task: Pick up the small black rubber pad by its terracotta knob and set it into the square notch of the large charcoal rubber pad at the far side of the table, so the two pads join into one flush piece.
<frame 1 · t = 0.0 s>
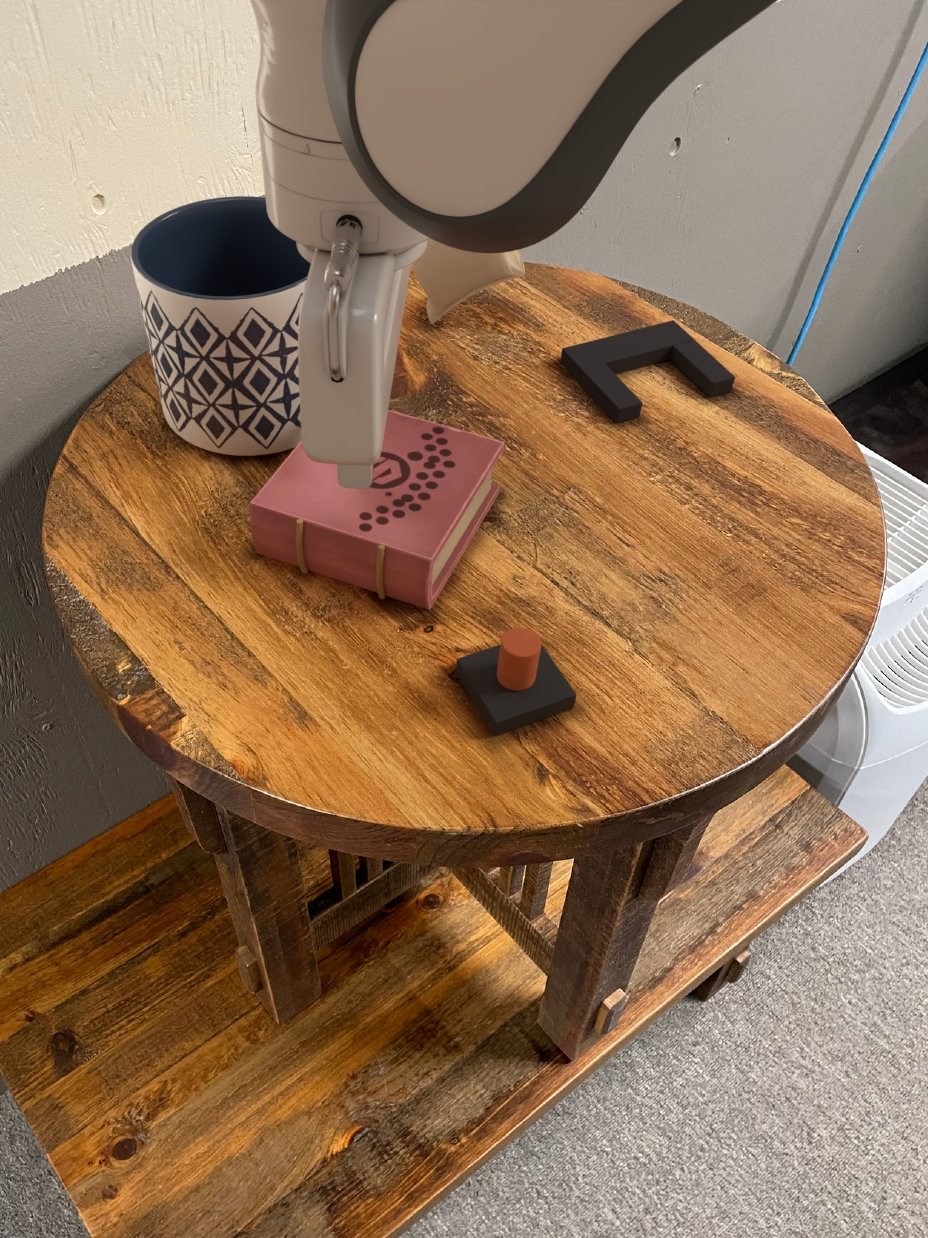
hand: (366, 426, 56), 18 cm above the table, tool pointing down, fingers open, 8 cm apart
planter: (254, 405, 88), on the table
decorative ornament: (438, 325, 97), on the table
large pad: (644, 376, 91), on the table
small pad: (513, 690, 68), on the table
book: (379, 527, 79), on the table
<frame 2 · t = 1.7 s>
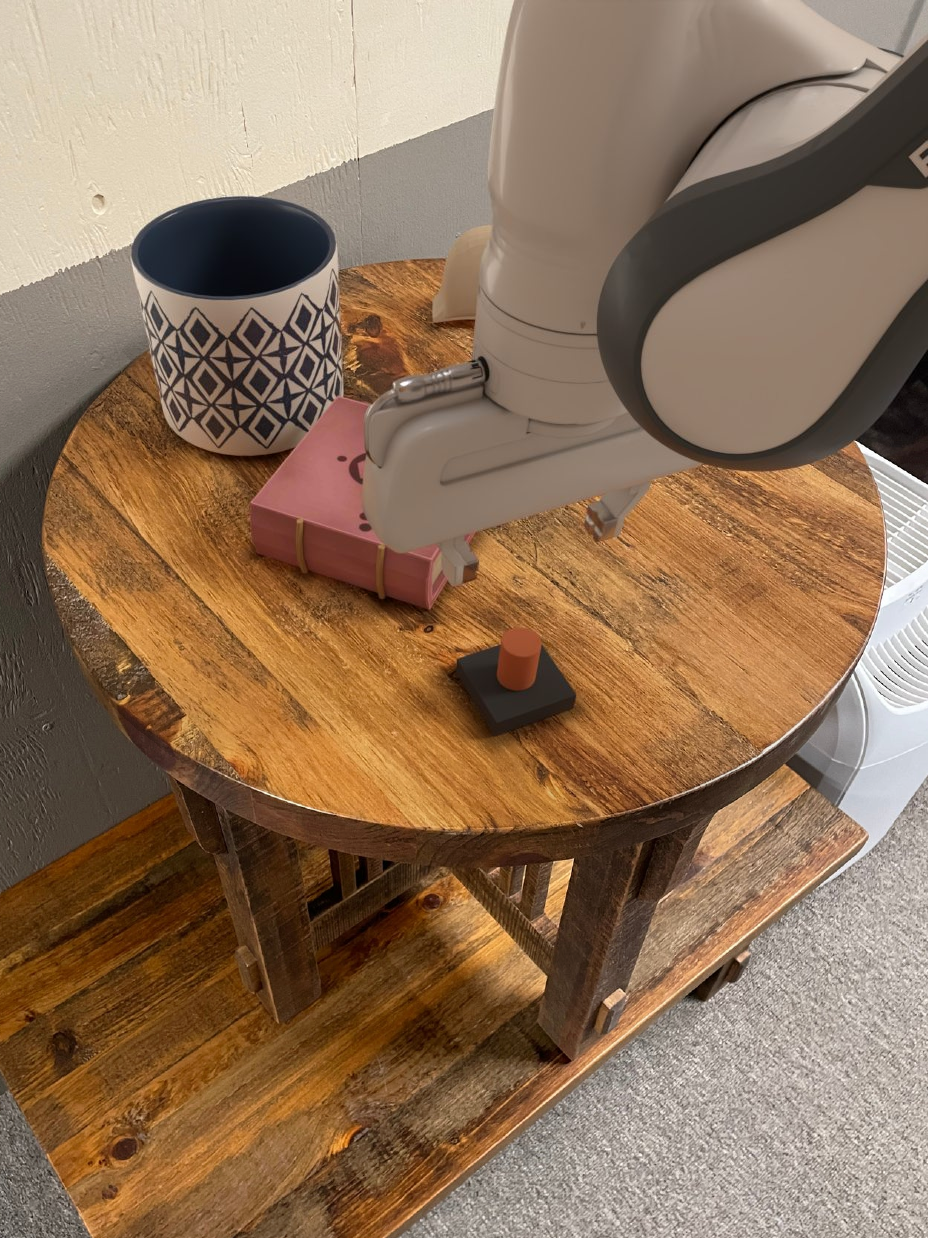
hand: (531, 554, 58), 13 cm above the table, tool pointing down, fingers open, 8 cm apart
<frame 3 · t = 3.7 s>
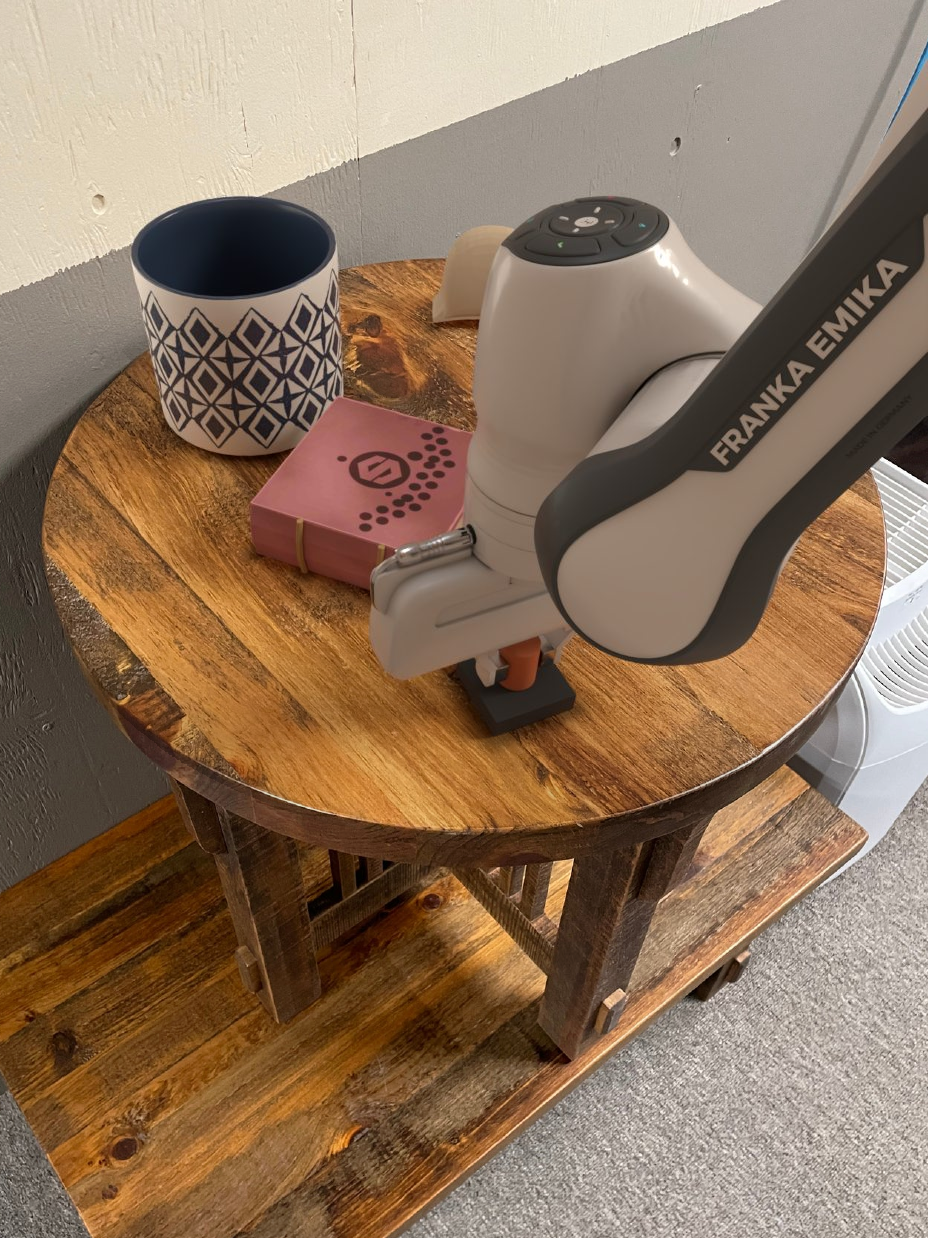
hand: (517, 667, 66), 2 cm above the table, tool pointing down, fingers closed on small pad, 2 cm apart
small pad: (513, 690, 68), on the table, touching gripper
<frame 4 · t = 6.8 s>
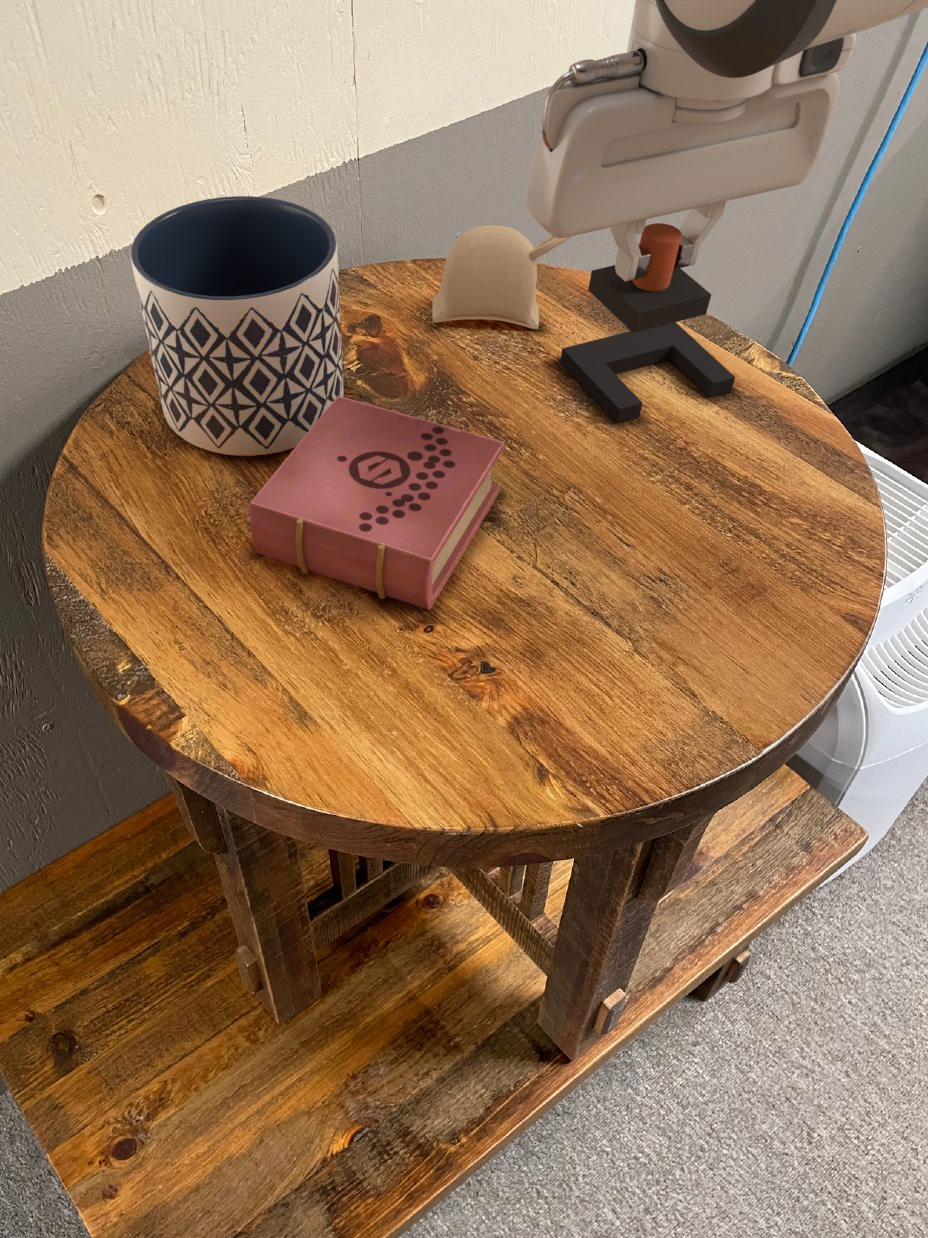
hand: (654, 269, 69), 17 cm above the table, tool pointing down, fingers closed on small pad, 2 cm apart
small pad: (646, 302, 70), point 15 cm above the table, touching gripper
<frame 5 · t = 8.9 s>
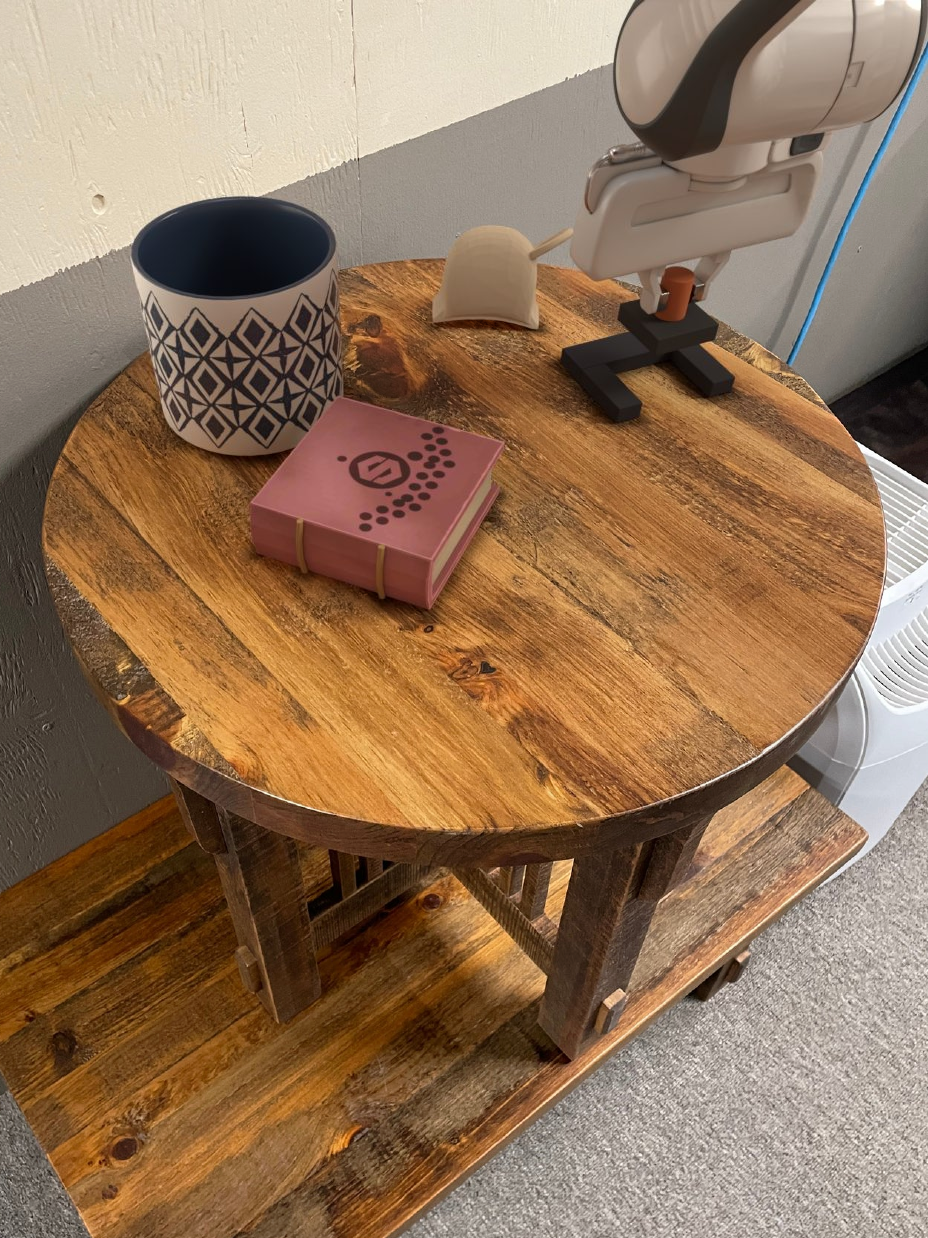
hand: (672, 304, 83), 8 cm above the table, tool pointing down, fingers closed on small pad, 2 cm apart
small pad: (665, 329, 85), point 6 cm above the table, touching gripper
when the fingers open (2 cm above the table, at t = 10.3 s): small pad stays where it is, on the table.
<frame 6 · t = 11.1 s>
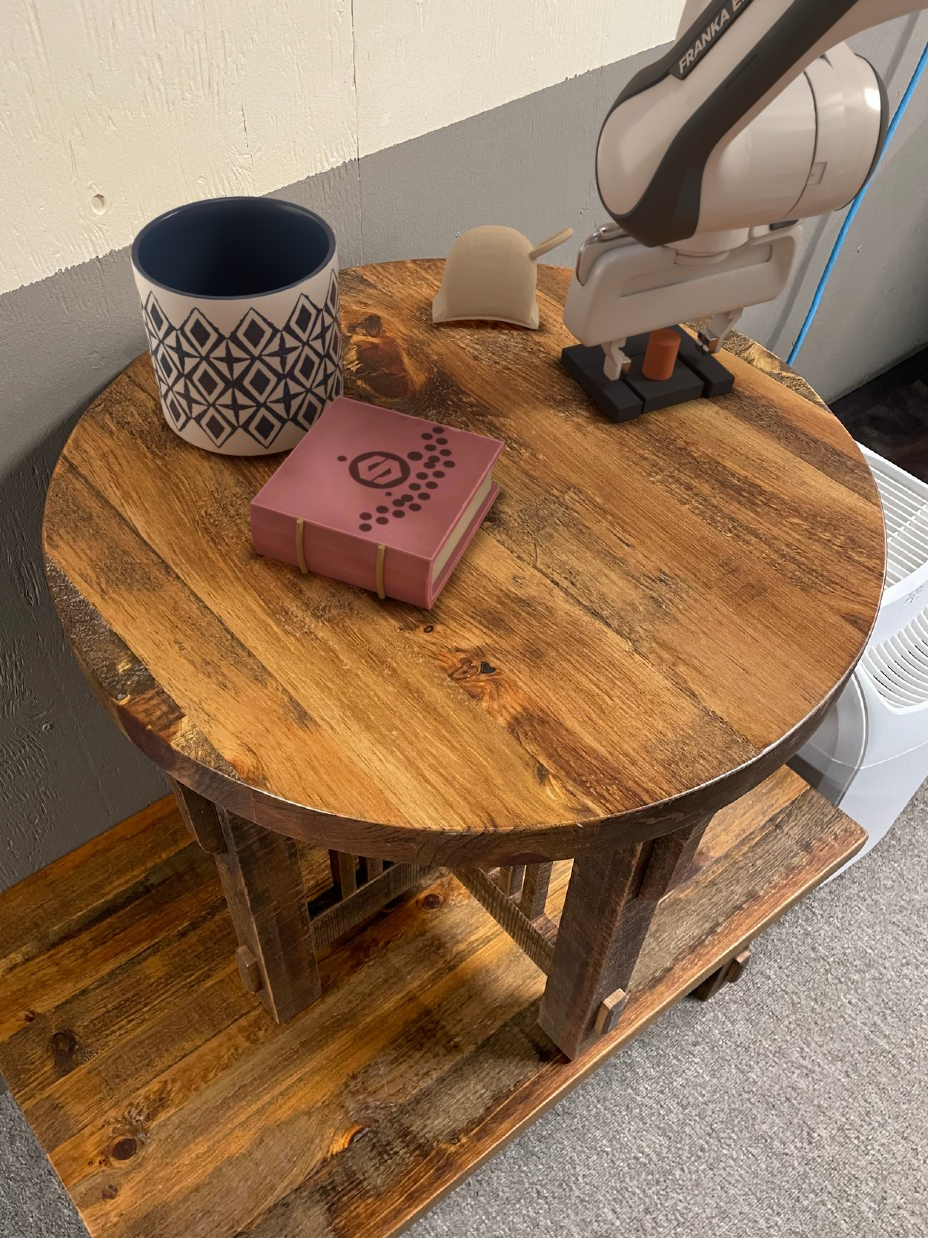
hand: (661, 363, 88), 2 cm above the table, tool pointing down, fingers open, 8 cm apart
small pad: (653, 387, 90), on the table
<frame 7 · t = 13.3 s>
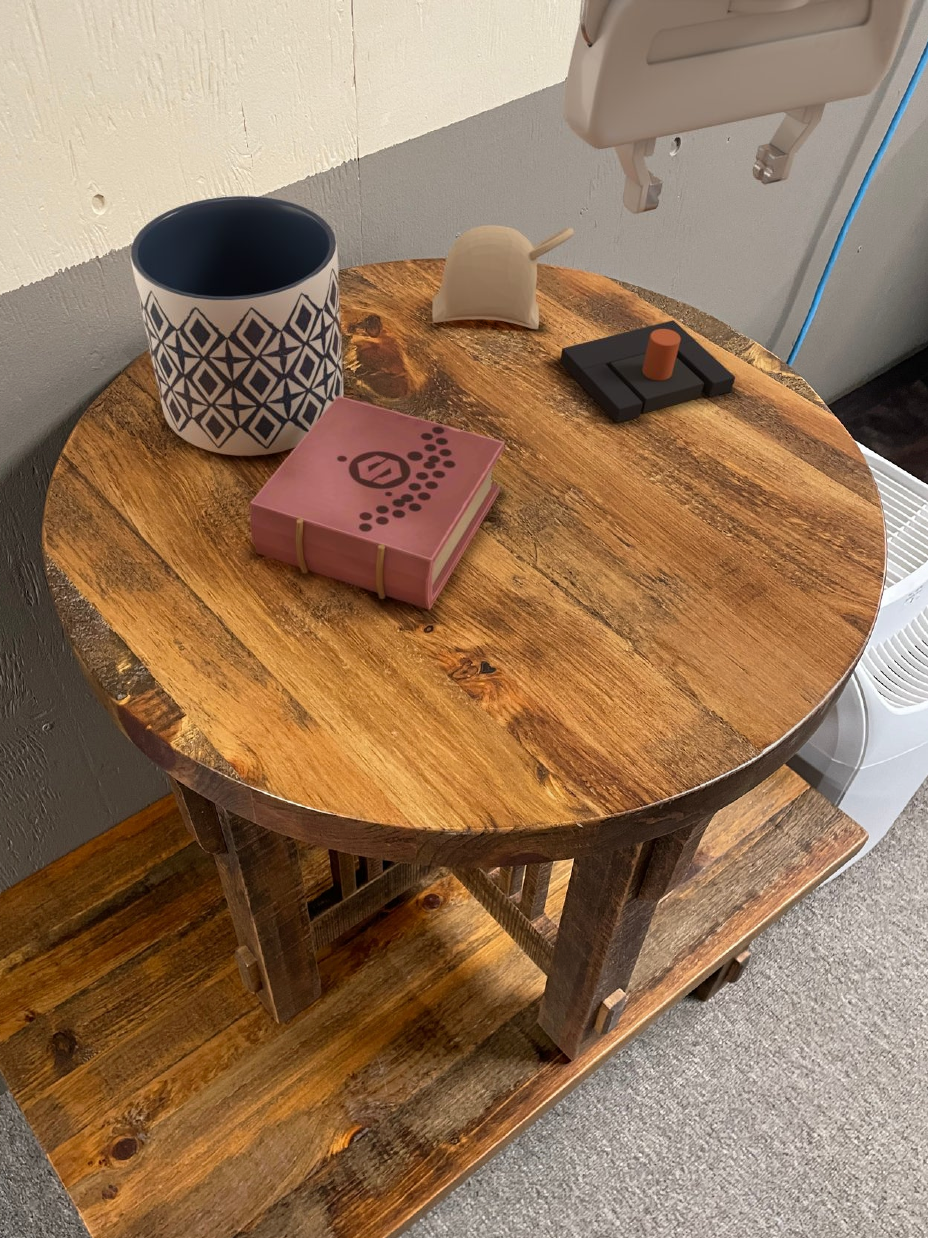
hand: (704, 193, 62), 24 cm above the table, tool pointing down, fingers open, 8 cm apart
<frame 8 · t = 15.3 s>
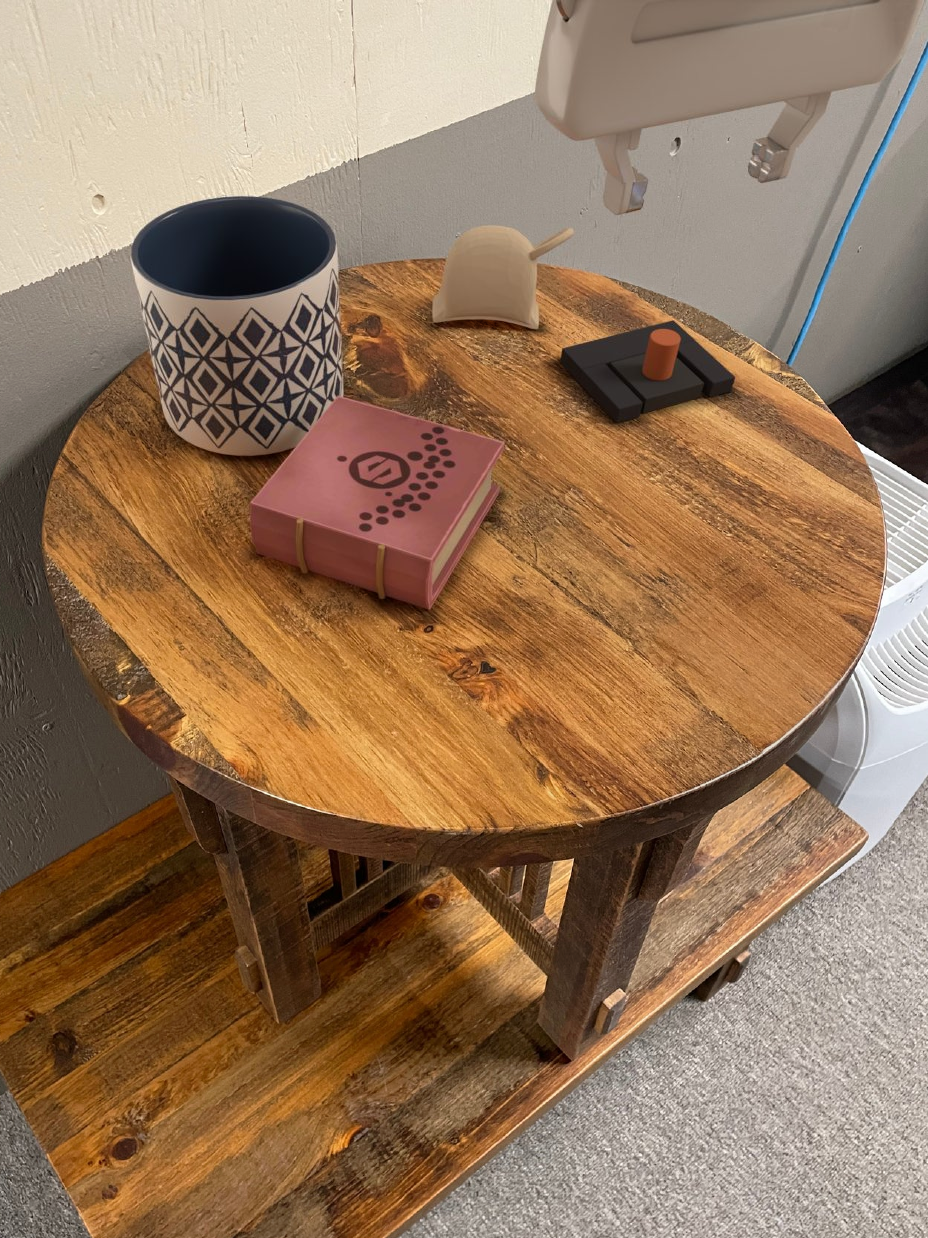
hand: (695, 192, 55), 27 cm above the table, tool pointing down, fingers open, 8 cm apart
at the end: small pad 0.2 cm from the target spot on the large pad, point 0.0 cm above the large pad's base; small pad tilted 0°; the gripper is holding nothing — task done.
